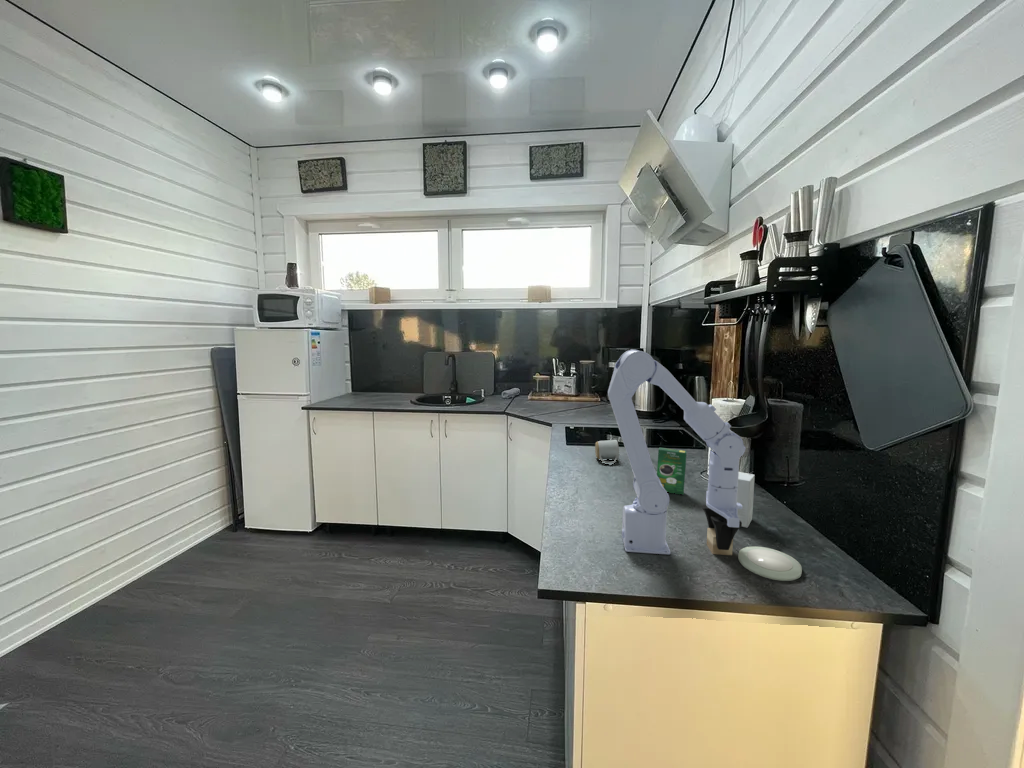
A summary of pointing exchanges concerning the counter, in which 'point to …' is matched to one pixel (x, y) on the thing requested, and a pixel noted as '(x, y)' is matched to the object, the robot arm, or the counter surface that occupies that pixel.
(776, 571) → the dish
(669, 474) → the coffee box
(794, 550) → the counter surface
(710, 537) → the block
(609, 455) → the ceramic mug
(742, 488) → the skincare box
